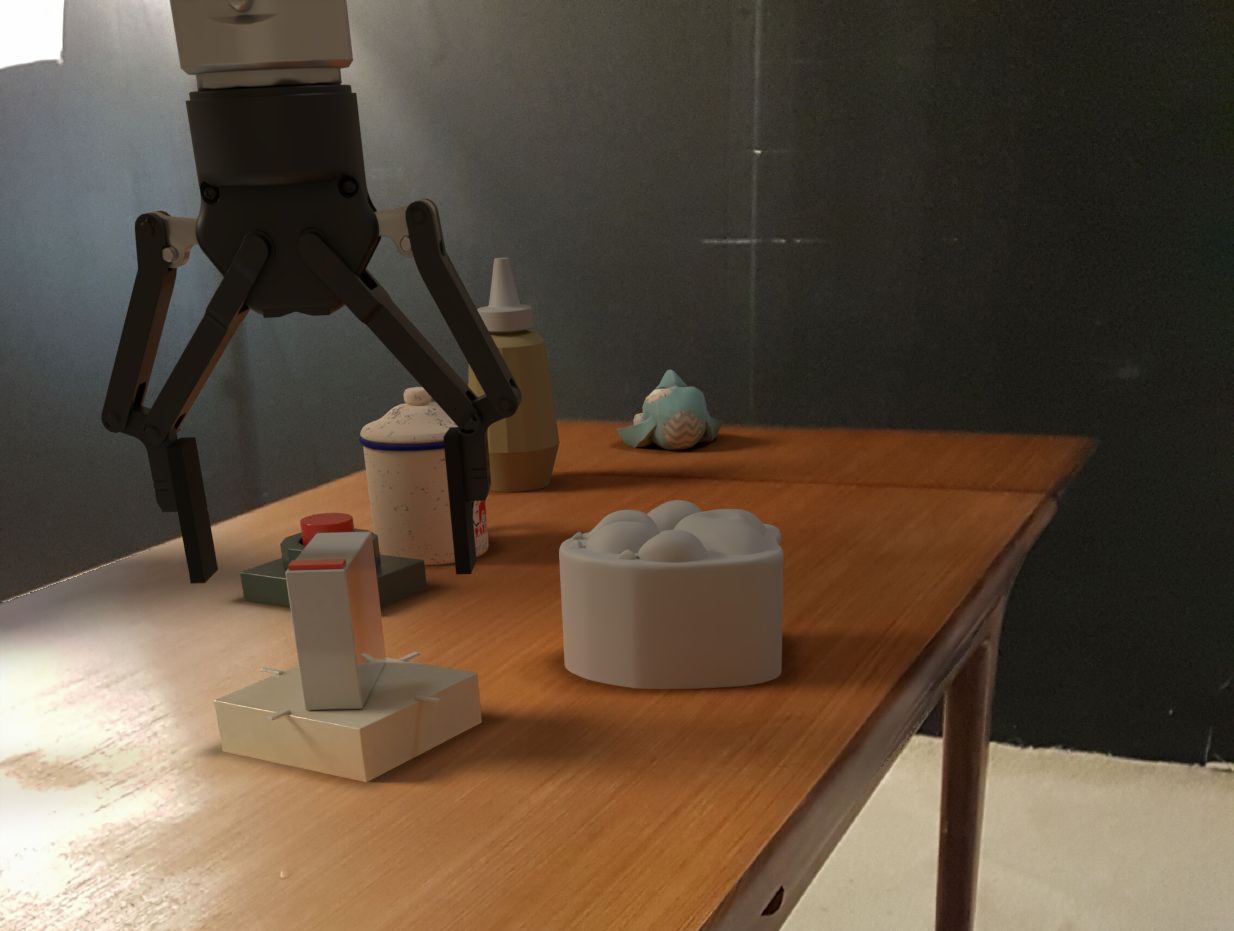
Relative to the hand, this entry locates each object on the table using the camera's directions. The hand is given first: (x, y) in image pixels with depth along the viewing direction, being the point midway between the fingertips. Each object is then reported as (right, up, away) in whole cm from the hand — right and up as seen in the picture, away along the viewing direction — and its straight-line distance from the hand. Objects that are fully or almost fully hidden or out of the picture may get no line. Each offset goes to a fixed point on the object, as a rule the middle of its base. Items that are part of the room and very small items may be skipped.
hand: (335, 573), depth 81 cm
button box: (-5, +8, +30) cm, 31 cm away
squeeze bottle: (+6, +27, +59) cm, 65 cm away
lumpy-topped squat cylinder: (+18, -1, +14) cm, 23 cm away
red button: (-5, +11, +28) cm, 30 cm away
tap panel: (0, -8, +5) cm, 9 cm away
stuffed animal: (+20, +37, +73) cm, 84 cm away
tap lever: (0, -5, +3) cm, 6 cm away
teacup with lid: (0, +15, +41) cm, 43 cm away
